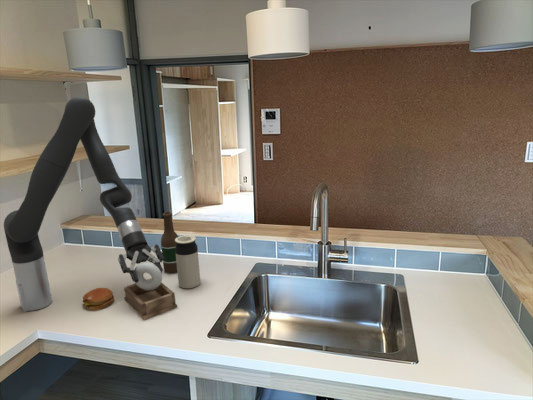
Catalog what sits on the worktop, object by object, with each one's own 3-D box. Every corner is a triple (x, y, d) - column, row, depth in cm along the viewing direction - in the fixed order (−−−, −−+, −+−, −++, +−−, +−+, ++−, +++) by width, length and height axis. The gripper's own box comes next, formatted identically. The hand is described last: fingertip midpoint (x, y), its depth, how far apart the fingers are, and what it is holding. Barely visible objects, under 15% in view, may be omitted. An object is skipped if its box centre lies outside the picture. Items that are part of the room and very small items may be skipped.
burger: (118, 296, 144) (116, 284, 143) (108, 310, 135) (106, 298, 134) (90, 297, 144) (88, 285, 143) (78, 311, 136) (76, 299, 134)
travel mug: (185, 291, 146) (180, 244, 142) (174, 283, 152) (170, 238, 147) (204, 284, 151) (200, 238, 146) (193, 277, 157) (189, 233, 152)
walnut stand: (143, 320, 129) (142, 305, 127) (124, 299, 142) (122, 286, 140) (177, 307, 135) (176, 293, 134) (156, 289, 149) (154, 276, 147)
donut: (133, 292, 137) (129, 264, 134) (137, 287, 140) (133, 260, 137) (161, 293, 135) (158, 265, 132) (165, 288, 138) (162, 261, 136)
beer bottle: (185, 265, 168) (180, 209, 161) (179, 274, 160) (173, 215, 154) (166, 265, 169) (160, 210, 162) (160, 273, 161) (153, 215, 155)
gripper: (112, 236, 134) (129, 280, 128) (153, 225, 142) (171, 266, 136) (109, 246, 139) (126, 289, 134) (149, 236, 148) (166, 275, 142)
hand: (149, 277), depth 135 cm, fingers closed on donut, 7 cm apart
